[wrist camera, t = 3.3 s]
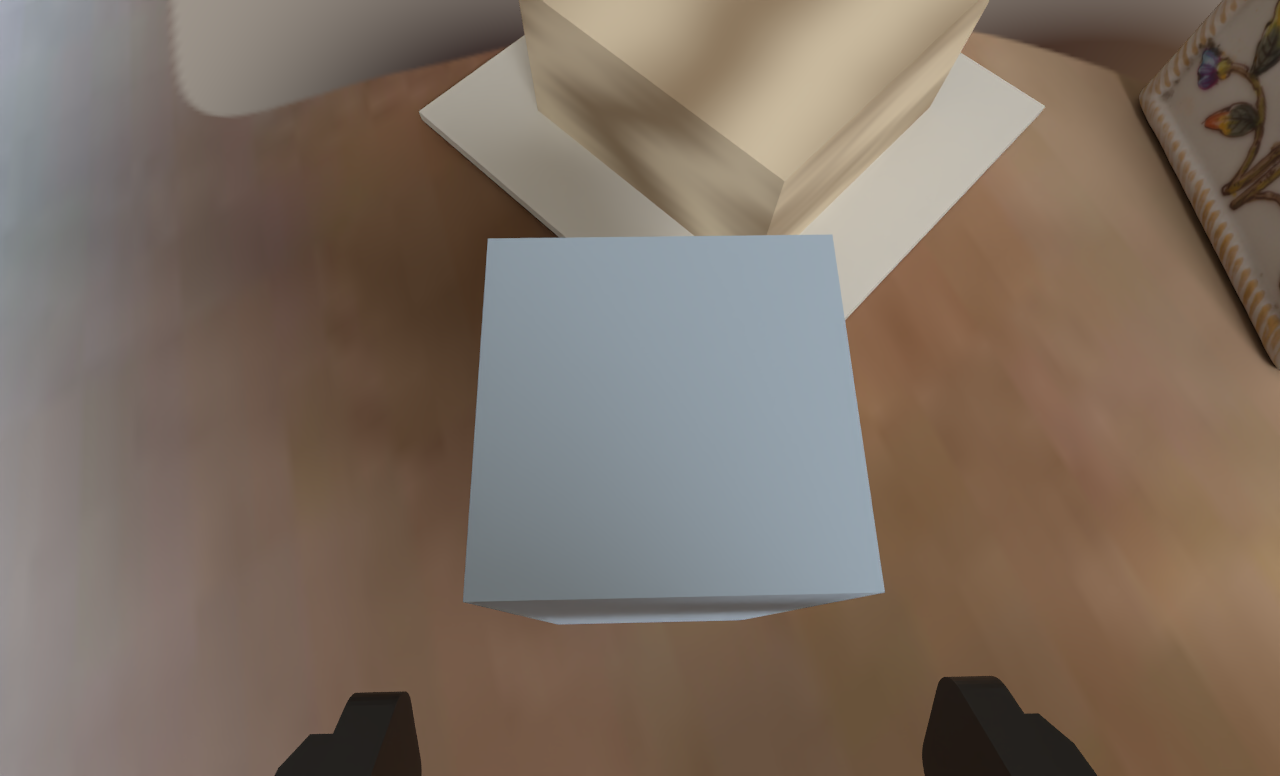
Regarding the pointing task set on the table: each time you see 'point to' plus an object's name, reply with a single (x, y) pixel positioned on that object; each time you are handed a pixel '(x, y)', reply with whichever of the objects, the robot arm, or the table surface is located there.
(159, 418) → the table surface
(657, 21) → the base block
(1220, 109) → the decorative jar
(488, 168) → the pad
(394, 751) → the robot arm
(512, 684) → the table surface
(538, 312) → the column block
